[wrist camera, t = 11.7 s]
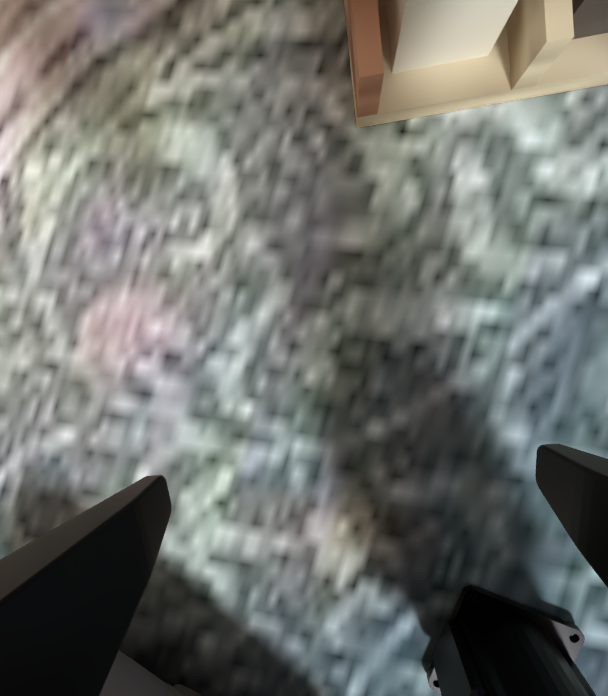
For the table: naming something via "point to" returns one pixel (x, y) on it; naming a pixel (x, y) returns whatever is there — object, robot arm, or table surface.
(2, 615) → the robot arm
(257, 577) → the table surface
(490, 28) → the plug
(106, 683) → the bluetooth speaker
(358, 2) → the comb rack
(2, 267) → the table surface
